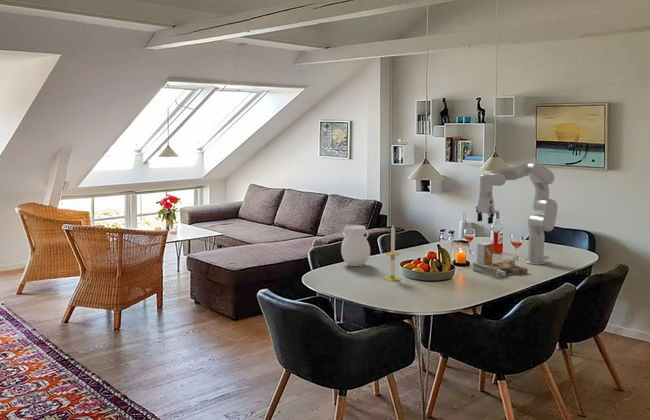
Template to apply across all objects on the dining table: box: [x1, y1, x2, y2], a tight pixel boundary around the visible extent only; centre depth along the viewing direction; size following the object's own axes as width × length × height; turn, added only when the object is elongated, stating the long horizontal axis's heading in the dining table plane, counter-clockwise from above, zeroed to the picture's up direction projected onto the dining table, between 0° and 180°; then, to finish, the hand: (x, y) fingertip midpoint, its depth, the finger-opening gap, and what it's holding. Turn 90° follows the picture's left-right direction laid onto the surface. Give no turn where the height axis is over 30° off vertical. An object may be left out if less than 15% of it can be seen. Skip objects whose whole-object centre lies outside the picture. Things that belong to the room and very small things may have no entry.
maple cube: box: [502, 258, 516, 267], centre depth 393 cm, size 5×5×4 cm
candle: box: [385, 225, 402, 282], centre depth 373 cm, size 10×10×32 cm
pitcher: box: [340, 224, 371, 267], centre depth 409 cm, size 19×18×25 cm
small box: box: [476, 242, 494, 265], centre depth 414 cm, size 8×6×13 cm
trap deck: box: [472, 261, 528, 279], centre depth 391 cm, size 25×20×5 cm
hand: (484, 222), depth 391 cm, fingers open, 9 cm apart
